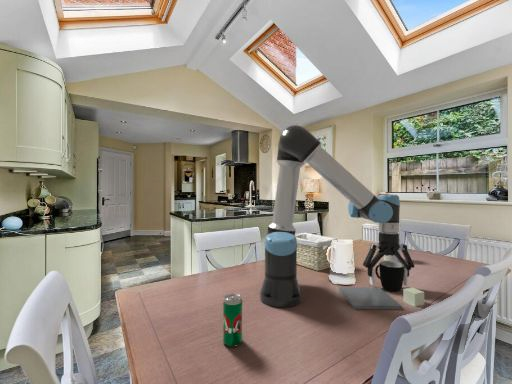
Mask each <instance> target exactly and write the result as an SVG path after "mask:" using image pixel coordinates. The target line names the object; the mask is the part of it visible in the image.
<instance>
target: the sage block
mask: <svg viewBox="0 0 512 384" xmlns="http://www.w3.org/2000/svg"><path fill="white" fill-rule="evenodd" d="M402 293H403V297H402V299H403V300H402V301H403V302H404V303H406V304H408V305H410V306H412V307H419V306H424V305H425V292H424V291H422V290H420V289H418V288H415V287H408V288H403V292H402Z"/></svg>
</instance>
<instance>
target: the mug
mask: <svg viewBox="0 0 512 384" xmlns="http://www.w3.org/2000/svg"><path fill="white" fill-rule="evenodd" d="M378 263H379V264H376V265H375V269H374V270H375V275H376V277H377V278H378V279H379V281H380V283H381V287H382V288H383V289H384V291H385V290H386V291H388V292H391V293H392V292H394V293H397V292H400V291H401V290H402V287H403V286H404V284H403V279H404V265H403V264H402V263H400V261H399V262H394V261H385V260H382V261H379V262H378ZM378 269H379V272H378Z"/></svg>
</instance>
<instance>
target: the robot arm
mask: <svg viewBox="0 0 512 384" xmlns="http://www.w3.org/2000/svg"><path fill="white" fill-rule="evenodd" d="M322 144H323V143H322V141H320V140H319V139H317V137H315V136H314V134H312V133H311V132H310V131H309V130H308V129H307V128H305V127H303V126H301V125H297V124H296V125H295V124H293V125H289V126H287V127H286V128H285V129H283V130H282V132H281V134H280V136H279V141H278V145H277V148H278V149H277V154H276V155H277V156H276V162H277V163H278V165H279V169H278V175H277V177H278V178H277V185H276V190H275V191H276V192H275V200H274V206H273V213H272V221H271V223H269V224H268V226H267V231H266V236H265V237H264V279H263V282H262V284H261V287H260V291H259V299H260V301H261V302H262V303H263V304H266V305H268V306H270V307H274V308H291V307H296V306H297V305H299V304H300V303H301V302H302V291H301V288H300V284H299V281H298V278H297V277H298V276H297V272H298V271H297V269H298V267H297V266H298V265H297V239H296V237H295V234H296V231H297V230H296V228H295V226H294V216H295V211H296V203H297V197H298V196H297V194H298V188H299V187H298V186H299V181H300V172H301V168H302V167H303V166H305V164H308V166H310V168H312V169H313V170H314V171H315V172H316V173H317V174H319V175H320V176H321V177H322V178H323V179H324V180H325V181H326V182H328V183H329V184H330V185H331V186H332V187H333V188H334V189H336V191H337V192H339V193H340V194H341V196H343V197H344V198H345V199H347V200H348V207H347V209H348V215H349V217H351V218H353V219H354V218H356V219H359V218H362V219H365V220H368V221H371V222H373V223H376V224H377V223H378V244H373V243H370V247H369V249H368V253H367V254H366V257H365V259H364V261H363V263H362V265H363V267H364V268H367V276H368V277H369V284H370V285H371V287H372V286H373V287H375V275H376V273H375V269H374V267H376V266H377V265H378V263H379V262H380V260H381V259H382V258H383V256H384V255H386V256H388V255H391V256H394V255H395V256H396V258H397V259H398V260H399V263H402V264H403V265H404V279H403V286H406V287H407V286H408V278H409V277H410V271H411V270H412V268H413V269H414V268H415V264H414V262H413V260H412V257H411V255H410V253H409V250H408V245H406V244H404V243H400V245H399V239H400V234H399V232H400V209H401V208H400V207H401V204H400V203H401V202H400V196H398V195H397V194H379V196H378V197H377V196H376V194H374V193H373V192H372V191H371V190H369V188H368V187H366V186H365V185H364V184H363V183H362V182H361V181H359V180H358V178H356V177H355V176H354V175H353V174H352V173H351V172H350V171H348V169H346V168H345V167H344V166H343V165H342V164H341V163H340V162H338V160H336V158H334V157H333V156H332V155H331V154H330V153H329V152H327V151H326V150H325V148H323V147H322ZM399 248H400V250H401V253H402V255H403V256H404V258H403V257H402V256H401V253H400V254H399V252H398V250H399ZM376 251H377V252H376ZM375 253H376V254H375ZM374 255H375V256H374Z"/></svg>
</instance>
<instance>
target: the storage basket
mask: <svg viewBox="0 0 512 384" xmlns="http://www.w3.org/2000/svg"><path fill="white" fill-rule="evenodd" d="M295 237H296V239H297V266H302V267H304V268H308V269H311V270H314V271H322V270H326V269H329V268H331V267H330V264H329V262H328V260H327V255H326V253H327V249H328V247H329V246H330V245H331V242H332V240H337V241H338V239H337V238H335V237H330V236H326V235H324V236H323V235H318V234H314V233H309V232H301V233H295Z"/></svg>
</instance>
